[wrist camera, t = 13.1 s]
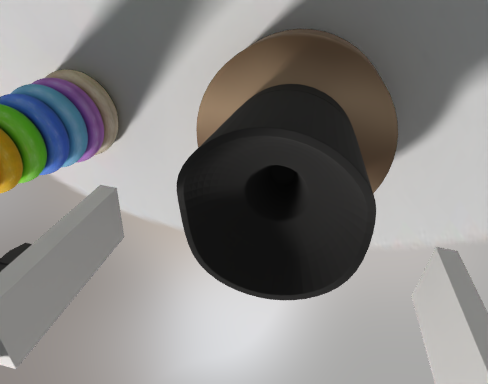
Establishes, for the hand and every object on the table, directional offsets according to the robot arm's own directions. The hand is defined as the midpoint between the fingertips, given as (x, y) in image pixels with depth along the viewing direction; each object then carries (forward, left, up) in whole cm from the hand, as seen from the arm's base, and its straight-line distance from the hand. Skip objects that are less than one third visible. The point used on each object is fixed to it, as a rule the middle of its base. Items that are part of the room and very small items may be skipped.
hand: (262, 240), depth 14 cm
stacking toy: (+2, -20, -17) cm, 26 cm away
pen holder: (0, 0, -12) cm, 12 cm away
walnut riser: (0, 0, -16) cm, 16 cm away
